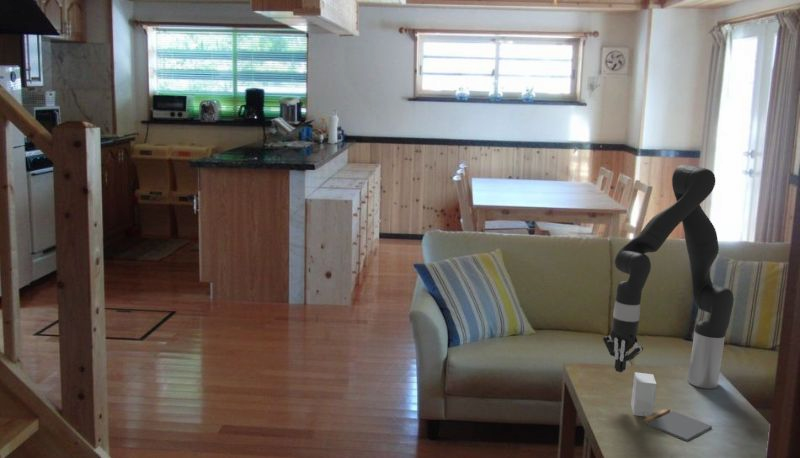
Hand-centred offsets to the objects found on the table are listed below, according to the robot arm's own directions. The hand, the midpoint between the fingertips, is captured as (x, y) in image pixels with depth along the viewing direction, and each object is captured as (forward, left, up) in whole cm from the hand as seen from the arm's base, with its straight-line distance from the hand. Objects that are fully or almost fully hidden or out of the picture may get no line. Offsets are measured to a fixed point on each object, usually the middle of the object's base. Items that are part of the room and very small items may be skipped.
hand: (619, 371), depth 231 cm
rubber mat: (0, +21, -10) cm, 23 cm away
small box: (0, +9, -10) cm, 13 cm away
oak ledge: (0, +14, -10) cm, 17 cm away
